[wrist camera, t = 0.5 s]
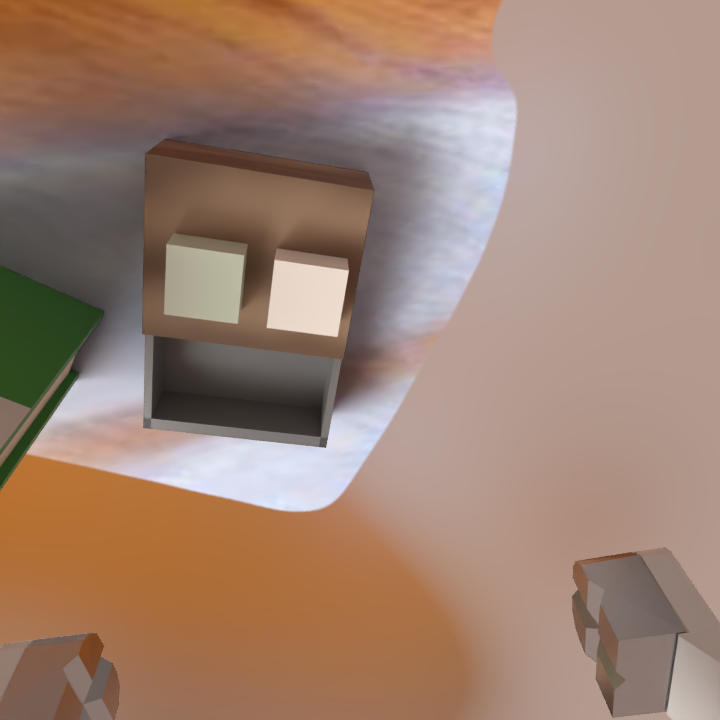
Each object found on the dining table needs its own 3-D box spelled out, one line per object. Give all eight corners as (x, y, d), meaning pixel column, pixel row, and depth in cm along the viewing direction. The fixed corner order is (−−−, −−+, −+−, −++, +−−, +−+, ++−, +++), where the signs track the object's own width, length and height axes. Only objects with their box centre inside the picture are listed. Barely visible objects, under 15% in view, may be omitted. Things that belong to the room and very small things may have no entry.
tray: (160, 302, 52) (145, 328, 48) (340, 326, 54) (342, 353, 50) (157, 396, 56) (143, 427, 52) (325, 415, 58) (326, 447, 54)
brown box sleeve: (165, 138, 46) (145, 153, 41) (367, 172, 48) (373, 190, 43) (160, 302, 52) (142, 334, 47) (340, 326, 54) (343, 359, 49)
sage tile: (174, 233, 43) (166, 244, 41) (247, 243, 44) (244, 255, 42) (171, 300, 46) (164, 314, 43) (241, 309, 46) (237, 323, 44)
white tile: (276, 248, 44) (274, 259, 42) (347, 258, 45) (348, 270, 43) (269, 313, 46) (266, 327, 44) (336, 322, 47) (337, 337, 45)
